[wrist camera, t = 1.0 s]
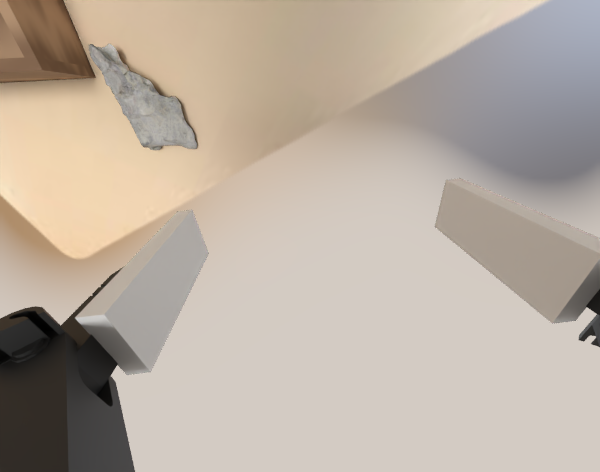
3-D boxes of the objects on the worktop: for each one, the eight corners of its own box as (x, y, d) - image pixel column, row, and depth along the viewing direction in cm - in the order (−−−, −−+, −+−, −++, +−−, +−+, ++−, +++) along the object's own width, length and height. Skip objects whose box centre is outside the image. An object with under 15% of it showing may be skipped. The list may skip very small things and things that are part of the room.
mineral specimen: (159, 41, 27) (140, 27, 23) (202, 146, 32) (192, 149, 28) (107, 55, 27) (79, 43, 23) (158, 158, 32) (142, 162, 28)
